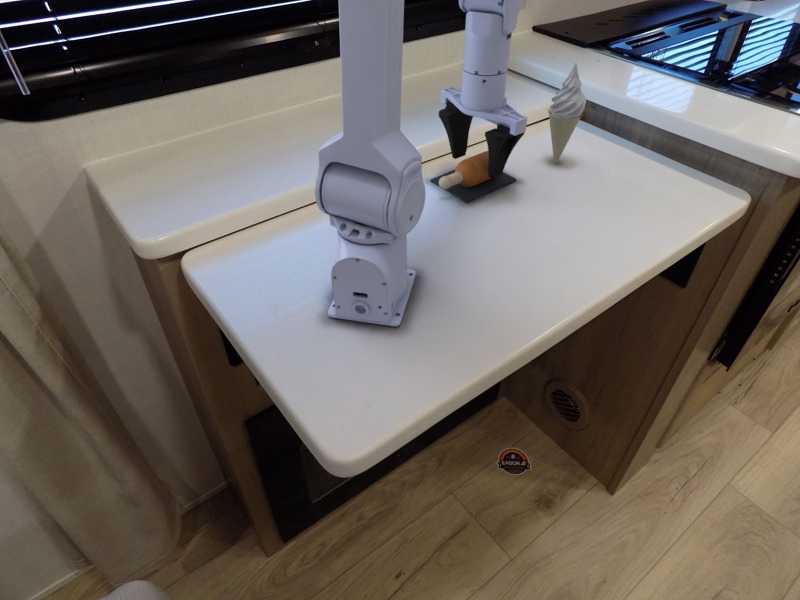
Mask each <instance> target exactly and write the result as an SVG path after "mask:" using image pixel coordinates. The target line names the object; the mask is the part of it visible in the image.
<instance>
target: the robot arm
mask: <svg viewBox="0 0 800 600" xmlns="http://www.w3.org/2000/svg"><path fill="white" fill-rule="evenodd" d="M522 2H523V0H458V6H459V9H461V10H462V12H464V13H466V14H465V28H464V43H463V44H464V46H463V59H462V60H463V61H462V74H461V75H462V76H461V89H460V88H457V87H454V86H449V87H445V88H441V91H440V103H441V104H442V105H445V107H444V108H442V109H439V111H438V118H439V119H440V121H441V123H442V125H443V128H444V130H445V132H446V136H447V139H448V143H449V148H450V152H451V157H452V159H454V160H457V159H459V158H461V157H465V156H466V154H467V150H468V144H469V136H470V135H469V134H470V129H471V125H472V121H473V118H474V117H475V118H479V119H482V120H484V121H487V122H490V123H491V124H494V125H495V126H496V128H495V127H494V128H492V129H490V130H487V131H485V132H484V137H485V141H486V144H487V151H488V153H489V161H488V176H489V177H490V178H495V177H497V176H499V175H502V172H504V169H505V167H506V164H507V163H508V162H507V161H508V160H509V158H510V156H511V153H512V152H513V150H514V148H515V147H516V146H517V144H518V142H519V141H520V140H521V138H522V137H523V136H524V135H525V133H526V132H527V131H526V130H527V125H528V124H527V123H528V116H525V115H523V114H521V113H520V112H518V111H517V110H516V109H514V108H513V107H512V106H511V105H510V104H508V103H507V101H508V97H507V96H505V94H506V87H507V79H508V78H507V77H508V70H509V69H508V68H509V60H510V53H511V43H512V34H513V31H515V30H516V28H517V24H518V17H519V12H520V8H521V5H522ZM404 15H405V0H338V20H339V21H338V23H339V24H338V25H339V52H340V56H339V57H340V83H341V85H340V86H341V106H342V107H341V112H342V113H341V115H342V130H341V131H339V132H337V133H336V134H334V135H333V136H331V137H330V138H328V140H326V141H325V142H324V143H323V144H322V145H321V147H320V148H319V150H318V167H317V173H316V176H315V181H314V198H315V202H316V205H317V207H318V209H319V210H320V212H322V213H323V214H325V215H328V216H329V224H330V226H331V227H334V228H335V229H336V233H337V244H338V249H337V254H336V257H335V260H334V263H333V265H332V267H331V272H330V280H331V286H332V294H333V295H332V296H333V300H332V302H331V304H330V306H329V307H328V310H327V316H328V317H329V318H334V319H341V320H347V321H353V322H354V321H355V322H362V323H367V324H368V323H369V324H375V325H383V326H389V327H399V326H400V325H401V323H402V320H403V316H404V313H405V311H406V307H407V304H408V301H409V298H410V295H411V293H412V292H411V291H412V288H413V286H414V282H415V279H416V276H417V271H416V270H415V269H411V268H408V237H407V236H408V234H409V233H410V232H411V231H413V230H414V228H415V227H416V226H417V224H418V223H419V221H420V219H421V216H422V214H423V211H424V207H425V203H426V193H427V192H426V186H425V182H424V178H423V163H422V160H423V159H422V158H423V157H422V155H421V153H420V152H419V151H418V149H416V147H415V146H414V145H413V144H412V142H411V141H410V140H409V139H408V138H407V137H406V136H405V134H404V133H403V131H402V130H401V117H402V116H401V115H402V114H401V113H402V86H403V85H402V83H403V82H402V81H403V80H402V79H403V53H404V52H403V51H404V50H403V49H404V48H403V47H404V20H405V19H404V17H405V16H404Z"/></svg>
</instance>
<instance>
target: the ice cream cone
mask: <svg viewBox="0 0 800 600" xmlns="http://www.w3.org/2000/svg"><path fill="white" fill-rule="evenodd" d="M561 84H562V87H561V88H560V89H559V90H557V91H555V94H556V95H555V96H553V97H551V102H552V104H550V106H549V108H548V109H547V113H548V117H549V119H548V120H549V128H550V137H551V147H552V158H553V163H554V164H557V163H558V162H559V160H560V158H561V156H562V155H563V152H564V150H565V149H566V146H567V145H568V143H569V141H570V139H571V136H572V135H573V133H574V131H575V129H576V127H577V125H578V123H579V121H580V119H581V117H583V115H584V112H585V107H586V104H587V99H586V96H585V94H584V93H583V91H582V88H581V87H582V85H583V83H582V81H581V79H580V76H579V72H578V64H577V63H574V66H573V67H572V69H571V70H570V72H569V73H568V75H567V77H566V78H565V80H564V81H563V82H562V83H561Z"/></svg>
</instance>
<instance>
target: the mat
mask: <svg viewBox="0 0 800 600" xmlns="http://www.w3.org/2000/svg"><path fill="white" fill-rule="evenodd" d="M453 173H455V169H453V170H450V171H448V172H445V173H443V174H441V175H438V176H434V177H433V178H431V179H430V182H431V183H432V184H434V185H436V186H437V187H439V188H441V187H440V186H439V180H440V178H441V177H443V176H448V175H450V174H453ZM515 182H517V178H516V177H513V176H511V175H510V174H507V173H506V172H504V171H503V172H502V175H499V176H497V177H495V178H492V179H489V180H487V181H485V182H482V183H480V184H478V185H475V186H473V187H464V186H462V185H460V184H459V183H458V184H456V185H454V186H451V187H449V188H448V189H443V191H444V190H445V191H446V192H447V193H449V194H451V195H453V196H454V197H456V198H458V199H459V200H461V201H463V202H464V203H466V204H468V203H470V202H473V201H475V200H477V199H479V198H481V197H484V196H486V195H489V194H490V193H493V192H495V191H498V190H500V189H502V188H505V187H507V186H509V185H511V184H513V183H515Z"/></svg>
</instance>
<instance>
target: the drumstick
mask: <svg viewBox="0 0 800 600" xmlns="http://www.w3.org/2000/svg"><path fill="white" fill-rule="evenodd" d="M488 161H489V153H488V150H485V151H483V152H480V153H478V154H474V155H472V156H470V157H468V158H465V159H463V160H461V161H460V162H458V163H457V165H456V167H455V169H454V170H455V173H453V174H450V175H448V176H443V177H441V178H440V180H439V186H440V187H439V186H438V187H439V188H440V189H442V190H444V189H448V188H449V187H451V186H454V185H456V184H458V183H459V184H460V185H462V186H464V187H473V186H475V185H478V184H480V183H482V182H485V181H487V180H489V179H492V178H490V177H489V176H488Z"/></svg>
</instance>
